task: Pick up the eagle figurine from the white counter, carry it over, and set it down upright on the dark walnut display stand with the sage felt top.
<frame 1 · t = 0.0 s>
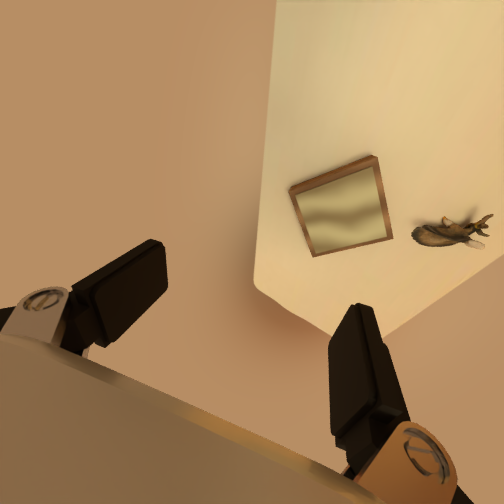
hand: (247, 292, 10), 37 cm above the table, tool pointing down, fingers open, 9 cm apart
eagle figurine: (441, 227, 39), on the table
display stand: (338, 207, 42), on the table
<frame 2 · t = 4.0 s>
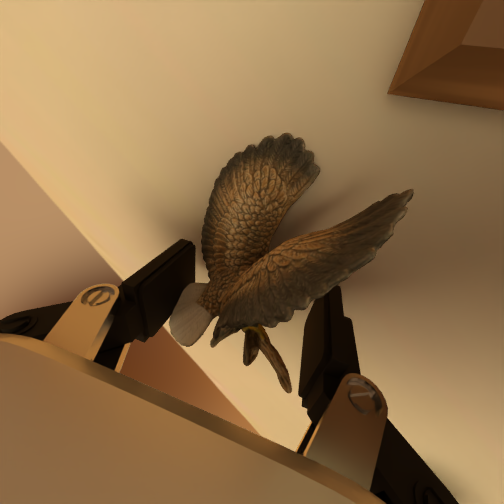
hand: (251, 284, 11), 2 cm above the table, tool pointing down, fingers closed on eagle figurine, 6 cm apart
eagle figurine: (273, 238, 11), on the table, touching gripper
when the fingers open (8 cm above the table, at t = 9.7 s): eagle figurine stays where it is, resting on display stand.
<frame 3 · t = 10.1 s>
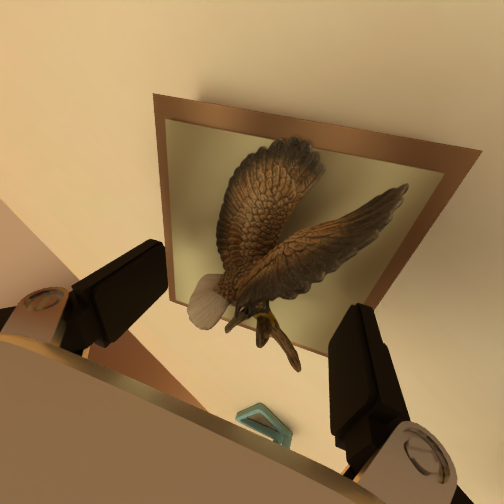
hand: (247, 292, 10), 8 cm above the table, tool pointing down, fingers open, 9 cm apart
chair: (267, 420, 34), on the table
eagle figurine: (281, 232, 12), point 5 cm above the table, touching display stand
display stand: (277, 228, 17), on the table
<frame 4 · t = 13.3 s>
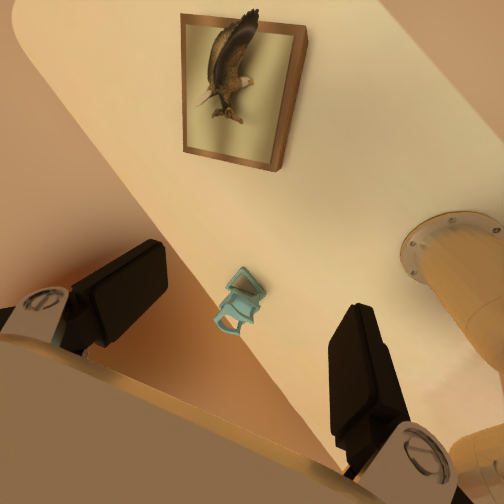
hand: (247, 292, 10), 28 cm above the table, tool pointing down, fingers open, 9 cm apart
chair: (248, 286, 48), on the table
eagle figurine: (238, 77, 25), point 5 cm above the table, touching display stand
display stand: (243, 105, 31), on the table
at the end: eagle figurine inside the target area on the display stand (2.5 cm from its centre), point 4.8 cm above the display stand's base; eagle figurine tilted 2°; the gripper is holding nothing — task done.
